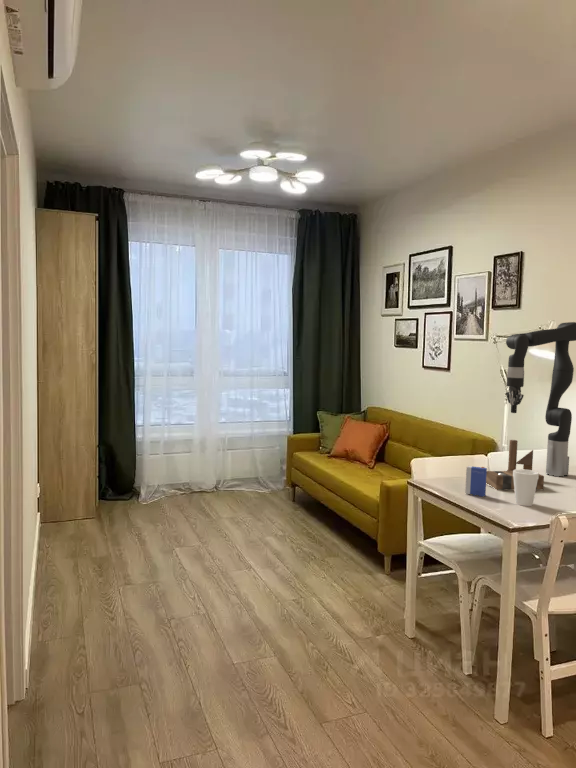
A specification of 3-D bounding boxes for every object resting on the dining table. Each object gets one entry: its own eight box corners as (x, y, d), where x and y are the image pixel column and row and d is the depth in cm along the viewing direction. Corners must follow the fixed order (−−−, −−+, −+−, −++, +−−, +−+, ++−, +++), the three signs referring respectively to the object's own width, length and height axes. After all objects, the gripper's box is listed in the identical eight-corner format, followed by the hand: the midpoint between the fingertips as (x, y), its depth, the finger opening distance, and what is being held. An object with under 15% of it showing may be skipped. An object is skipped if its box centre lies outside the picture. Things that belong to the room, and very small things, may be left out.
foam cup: (530, 500, 240) (532, 469, 239) (540, 507, 231) (542, 474, 230) (507, 500, 240) (509, 469, 239) (516, 506, 230) (518, 474, 229)
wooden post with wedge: (530, 480, 276) (532, 442, 275) (506, 477, 281) (508, 440, 280) (531, 479, 279) (533, 441, 278) (507, 476, 284) (509, 439, 283)
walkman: (485, 495, 247) (486, 467, 246) (484, 496, 244) (485, 468, 244) (466, 492, 251) (467, 464, 250) (465, 494, 248) (466, 466, 247)
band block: (531, 483, 269) (532, 471, 269) (543, 489, 259) (544, 476, 259) (485, 484, 267) (486, 471, 266) (495, 489, 257) (496, 476, 256)
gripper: (530, 377, 273) (528, 414, 274) (516, 375, 286) (514, 411, 288) (515, 377, 272) (513, 414, 274) (501, 375, 285) (499, 411, 287)
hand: (513, 412), depth 281 cm, fingers closed
